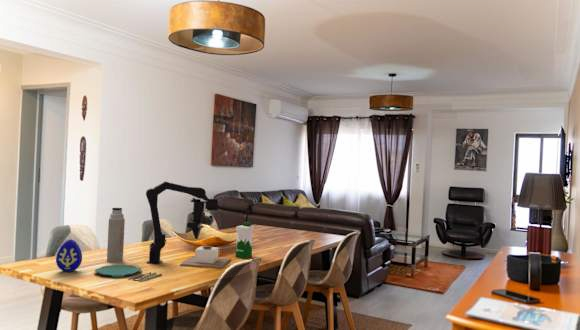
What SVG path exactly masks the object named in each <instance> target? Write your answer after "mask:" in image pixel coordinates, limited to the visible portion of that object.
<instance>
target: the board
mask: <svg viewBox="0 0 580 330" xmlns="http://www.w3.org/2000/svg"><path fill="white" fill-rule="evenodd" d="M231 261H232V258H231V257H230V258H229V257H219V256H218V260H217V261H216V262H214V263H199V262H195V255H192V256H191V257H188V258H187V259H185V260H183V261H182V262H180V263H179V266H180V267H181V266H182V267H192V268H193V267H194V268H207V269H208V268H209V269H223V268H224V267H225V266H226V265H227V264H228V263H229V262H231Z"/></svg>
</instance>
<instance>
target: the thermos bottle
mask: <svg viewBox="0 0 580 330" xmlns="http://www.w3.org/2000/svg"><path fill="white" fill-rule="evenodd" d="M111 210H112V211H111V213H110V215H109V218H108V225H107V227H108V228H107V249H106V261H107V262H109V263H120V262H123V261H124V244H125V243H124V241H125V240H124V239H125V221H126V220H125V217H124V213H123V208H122V207H112V208H111Z"/></svg>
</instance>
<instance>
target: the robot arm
mask: <svg viewBox="0 0 580 330" xmlns="http://www.w3.org/2000/svg"><path fill="white" fill-rule="evenodd" d="M166 190H170V191H174V192H179V193H183V194H187V195H189V196H190V195H191V196H193V197H192V198H191V199H190V200H189V202H190V203H193V208H192V212H191V214H192V219H191V220H190V221H188V222H187V223H186V228H190V229H191V231H192V234H193V235H194V238H195V240H198V239H199V237H200V233H201V230H202V229H203V228H204V227H205V226H206V225H208V226H212V225H213V223H214V221H215V219H214V216H213V215H206V212H205V210H206V211H208V212H209V211H210V212H218V210H219V202H218V200H219V199H218V198H209V197H208V196H207V194H206V192H207V191H206V190H205V188H202V187H198V186H185V185H183V184H178V183H173V182H169V181H167V180H166V181H163V182H162V183H160V184H158V185H156V186H154V187H150V188H148V189H146V191H145V196H146V199H147V202H148V204H149V207H150V208H149V209H150V216H151V221H152V227H153V237H152V238H153V239H152V240H153V242H151V244H150V245H149V246H148V247H149V253H148V254H149V255H148V256H149V257H148V261H146V264H160V263H162V262H163V260H162V259H161V253H162V252H161V251H162V249H163V248H165V246H166V242H167V240H166V233H165V232H162V228H161V220H160V215H159V209H158V198H159V195H160V194H162V193H163V192H165V191H166ZM204 225H205V226H204Z"/></svg>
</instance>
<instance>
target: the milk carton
mask: <svg viewBox="0 0 580 330" xmlns="http://www.w3.org/2000/svg"><path fill="white" fill-rule="evenodd" d="M254 227H255V226H253V225H251V222H249V221H248V222H247V221H244V222H243V225H237V226H236V227H235V229H236V244H235V245H236V246H235V256H234V257H235V258H240V259H249V258H252V257H253V234H254Z"/></svg>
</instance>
